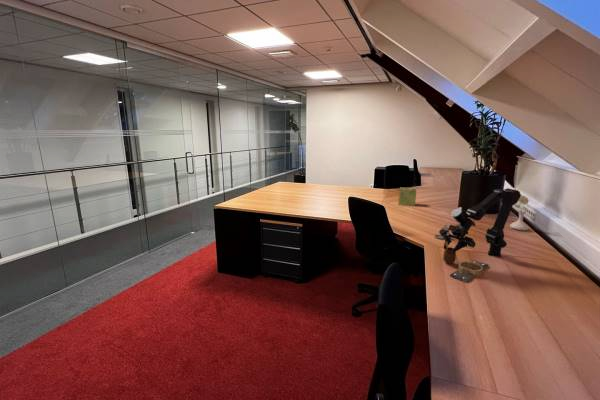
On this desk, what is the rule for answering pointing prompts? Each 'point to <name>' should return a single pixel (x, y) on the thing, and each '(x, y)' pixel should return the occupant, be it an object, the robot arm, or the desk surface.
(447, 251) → the utensil holder
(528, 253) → the desk surface
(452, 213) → the robot arm
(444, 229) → the pocket watch
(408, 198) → the protein box
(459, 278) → the wooden ring bracket
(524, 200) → the flower in vase
